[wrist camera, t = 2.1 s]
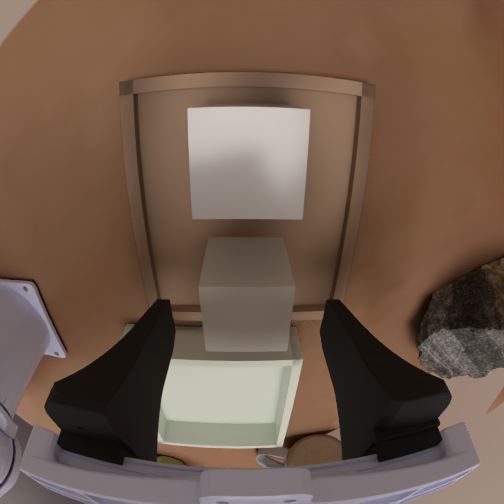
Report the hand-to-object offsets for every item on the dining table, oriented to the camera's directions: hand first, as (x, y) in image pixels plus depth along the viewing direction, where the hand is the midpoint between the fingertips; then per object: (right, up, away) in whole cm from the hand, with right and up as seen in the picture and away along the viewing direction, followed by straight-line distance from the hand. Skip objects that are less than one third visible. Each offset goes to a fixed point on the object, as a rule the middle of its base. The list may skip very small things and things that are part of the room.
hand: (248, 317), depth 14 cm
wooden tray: (0, +5, +2) cm, 6 cm away
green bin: (-3, -8, +10) cm, 13 cm away
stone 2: (0, +2, +4) cm, 4 cm away
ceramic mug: (+6, -21, +18) cm, 28 cm away
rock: (+20, -2, +7) cm, 21 cm away
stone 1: (0, +8, 0) cm, 8 cm away
